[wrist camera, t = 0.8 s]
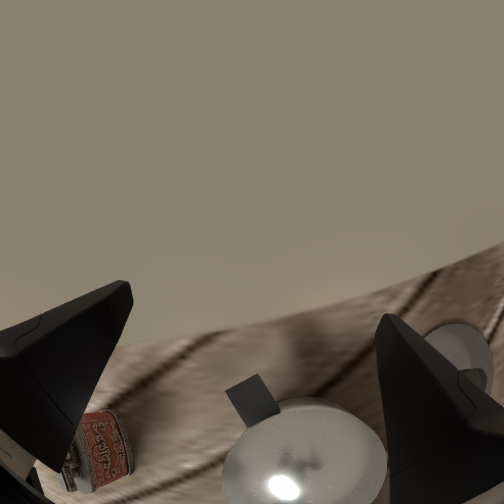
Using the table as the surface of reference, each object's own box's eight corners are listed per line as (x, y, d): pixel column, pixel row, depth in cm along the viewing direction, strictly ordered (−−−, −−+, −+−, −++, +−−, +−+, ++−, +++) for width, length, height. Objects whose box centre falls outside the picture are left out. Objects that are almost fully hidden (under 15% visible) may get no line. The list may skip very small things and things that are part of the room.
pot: (394, 477, 15) (422, 503, 9) (293, 530, 14) (291, 568, 8) (307, 346, 22) (313, 338, 16) (201, 404, 21) (169, 416, 15)
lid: (500, 383, 17) (528, 381, 12) (425, 464, 15) (447, 478, 11) (456, 301, 22) (482, 287, 17) (372, 380, 21) (391, 382, 16)
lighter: (99, 408, 22) (31, 411, 13) (122, 409, 22) (53, 416, 13) (114, 473, 18) (54, 494, 9) (139, 476, 18) (80, 505, 9)
